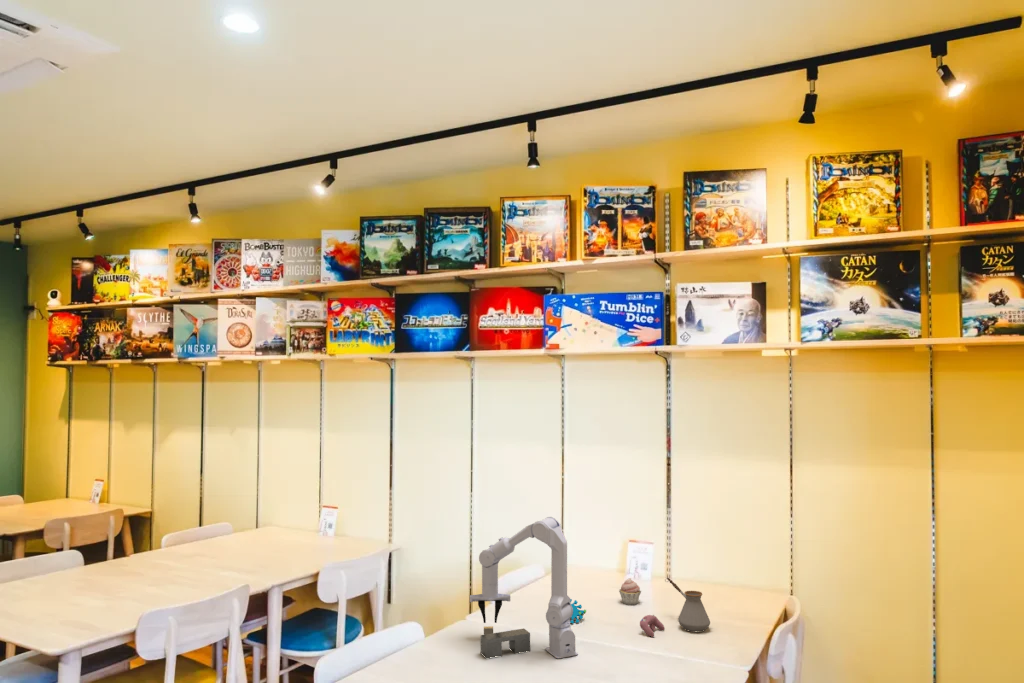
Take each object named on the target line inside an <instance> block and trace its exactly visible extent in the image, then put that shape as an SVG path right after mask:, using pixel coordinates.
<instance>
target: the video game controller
mask: <svg viewBox="0 0 1024 683" xmlns="http://www.w3.org/2000/svg"><path fill="white" fill-rule="evenodd" d="M639 626H640V629H641V630H643V631H644V634H646V635H647V636H648V637H650V636H651V637H650V638H654V637H655V632H656V628H657V629H658V630H659V631H661V630H664V631H665V629H666V628H665V626H664V624H663V623H662V622H661V621H660V619H658V617H657V616H655V614H652V615H651V614H647V615H644V616H643V617H642V619H641V620H640V621H639Z"/></svg>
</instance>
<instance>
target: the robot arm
mask: <svg viewBox="0 0 1024 683" xmlns="http://www.w3.org/2000/svg"><path fill="white" fill-rule="evenodd" d="M562 530H563V529H562V525H561V522H559V521H558V520H557V519H556V518H555V517H552V516H547V517H545V518H543V519H541V520H537V521H535V522H534V523H532V524H528V525H527V526H525V527H523V528H522V529H521V530H519V531H518V532H517V533H515V534H514V535H512V536H511V537H507V536H505V537H500V538H498V541H497V542H495V543H494V544H490V545H489V546H488V547H489V548H488V549H484V550H482V551H481V552H480V553H479V555H478V560H479V564H480V565H481V593H480V594H470V595H469V603H473V602H474V603H476V602H477V605H478V608H479V609H480V612H481V616H482V618H483V619H482V620H483V623H484V624H486V623H487V622H486V620H487V619H486V618H487V617H486V602H494V623H496V624H497V622H498V616H499V614H500V610H501V607H502V606H503V602H511V594H507V593H499V563H500V561H501V560H503V559H504V558H505V557H508V556H509V555H510V554H512V553H513V552H515V546H517V545H519V544H520V543H522V542H523V541H525V540H527V539H529V538H531V539H534V538H535V539H536V540H538V541H539V542H542V543H544V544H546V545H547V546H548V547H549V548H550V549H551V559H550V560H551V562H550V563H551V564H550V565H551V571H550V572H551V580H550V581H551V592H550V594H551V596H550V599H549V602H548V608H547V610H546V611H545V612H546V613H545V620H546V622H547V623H548V628H549V629H548V630H549V632H548V635H549V636H548V637H549V639H548V640H549V641H548V642H549V643H548V644H549V646H546V647H544V650H545V651H547V652H548V653H549V654H550V655H551V656H553V657H554V658H555V659H562V658H567V657H569V658H570V657H574V656H578V655H579V654H578V652H577V651H576V634H575V632H574V631H573V630H572V628H571V626H572V625H571V624H570V621H571V619H570V618H571V617H572V615H573V608H572V606H571V604H572V601H571V602H570V599H571V597H570V596H569V595H568V542H567V541H568V540H567V539H566V537H565V535H564V532H563V531H562Z"/></svg>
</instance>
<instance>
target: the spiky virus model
mask: <svg viewBox="0 0 1024 683" xmlns="http://www.w3.org/2000/svg"><path fill="white" fill-rule="evenodd" d="M572 601H573V599H572V598H570V602H571V606H572V608H573V615H572V617H571V618H570V623H573V624H574V622H575V624H578V623H579V624H580V621H581V620H583V618H584V614H585V615H586V613H587V609H582V608H583V606H582V604H579V605H577V604H578V601H577V600H576V599H575V600H574V601H573V602H572ZM574 619H575V621H574Z"/></svg>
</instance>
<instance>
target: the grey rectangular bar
mask: <svg viewBox="0 0 1024 683" xmlns="http://www.w3.org/2000/svg"><path fill="white" fill-rule="evenodd" d="M492 633H494V626H492V625H491V626H483V635H486V634H492Z"/></svg>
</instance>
